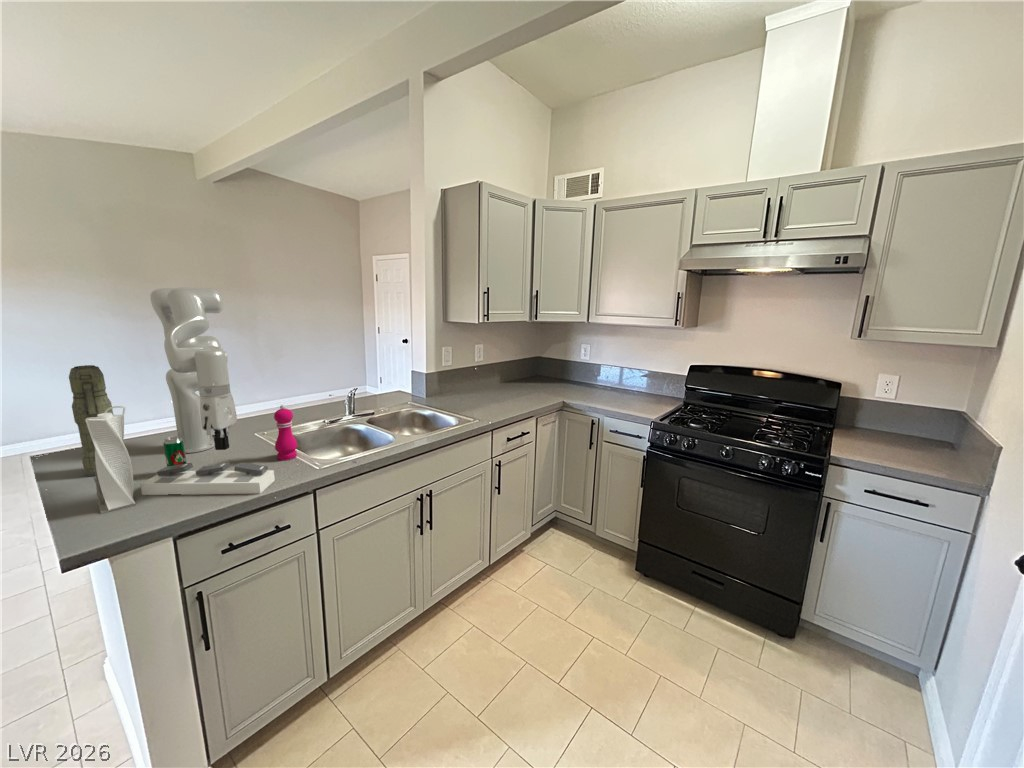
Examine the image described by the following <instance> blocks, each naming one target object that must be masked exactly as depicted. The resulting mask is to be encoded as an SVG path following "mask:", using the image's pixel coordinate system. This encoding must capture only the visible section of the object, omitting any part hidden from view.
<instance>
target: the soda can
mask: <svg viewBox="0 0 1024 768" xmlns="http://www.w3.org/2000/svg"><path fill="white" fill-rule="evenodd" d="M162 444H163V449H164V450H163V451H164V456H165V464H166V467H168V466H175V465H181V464H187V456H186V453H185V448H184V441H183V439H182V438H181V437H180V436H178V435H177V436H169V437H167V438H165V439H164V441H163V443H162Z"/></svg>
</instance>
